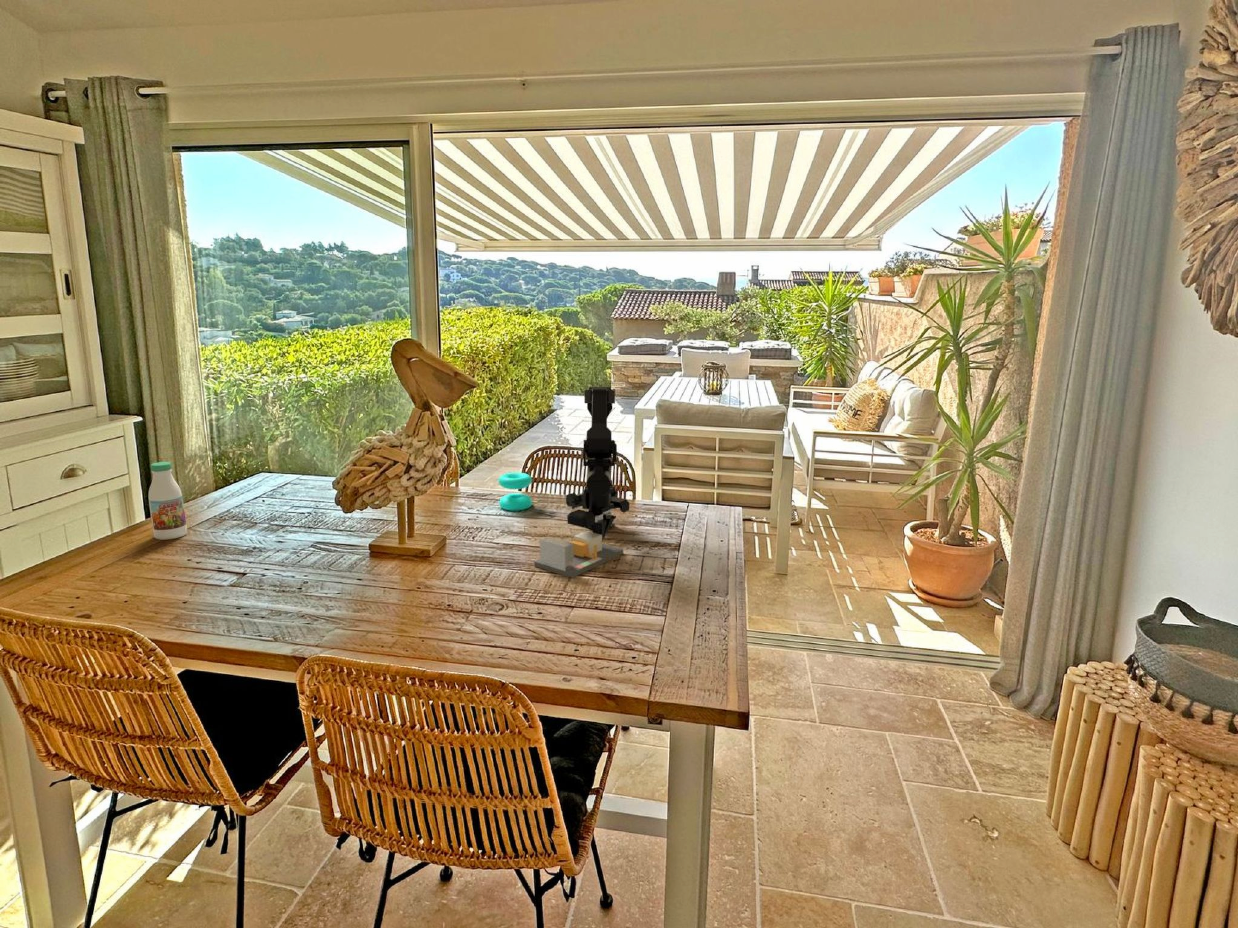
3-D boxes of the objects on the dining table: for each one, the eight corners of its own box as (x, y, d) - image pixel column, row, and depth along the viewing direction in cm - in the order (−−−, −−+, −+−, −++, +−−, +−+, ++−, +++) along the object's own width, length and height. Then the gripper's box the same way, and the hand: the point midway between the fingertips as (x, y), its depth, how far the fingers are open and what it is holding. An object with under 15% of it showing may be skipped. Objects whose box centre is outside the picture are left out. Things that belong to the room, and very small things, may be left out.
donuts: (531, 479, 217) (497, 480, 216) (532, 511, 219) (498, 512, 218) (531, 471, 226) (499, 471, 225) (532, 501, 229) (500, 502, 228)
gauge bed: (586, 543, 192) (586, 517, 190) (623, 553, 185) (623, 526, 183) (534, 566, 176) (533, 537, 175) (571, 577, 169) (571, 548, 168)
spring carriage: (586, 545, 186) (586, 530, 185) (601, 549, 183) (601, 534, 182) (573, 551, 182) (573, 535, 181) (589, 555, 179) (589, 540, 178)
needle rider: (575, 551, 182) (575, 538, 181) (598, 558, 177) (598, 544, 177) (570, 553, 180) (569, 540, 179) (593, 560, 176) (593, 546, 175)
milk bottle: (147, 538, 194) (136, 465, 189) (174, 529, 201) (164, 458, 196) (167, 542, 191) (156, 468, 186) (194, 533, 198) (184, 461, 193)
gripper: (596, 472, 194) (597, 527, 198) (550, 487, 180) (551, 547, 183) (630, 478, 188) (630, 536, 191) (585, 495, 173) (585, 556, 177)
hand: (599, 543), depth 186 cm, fingers closed
